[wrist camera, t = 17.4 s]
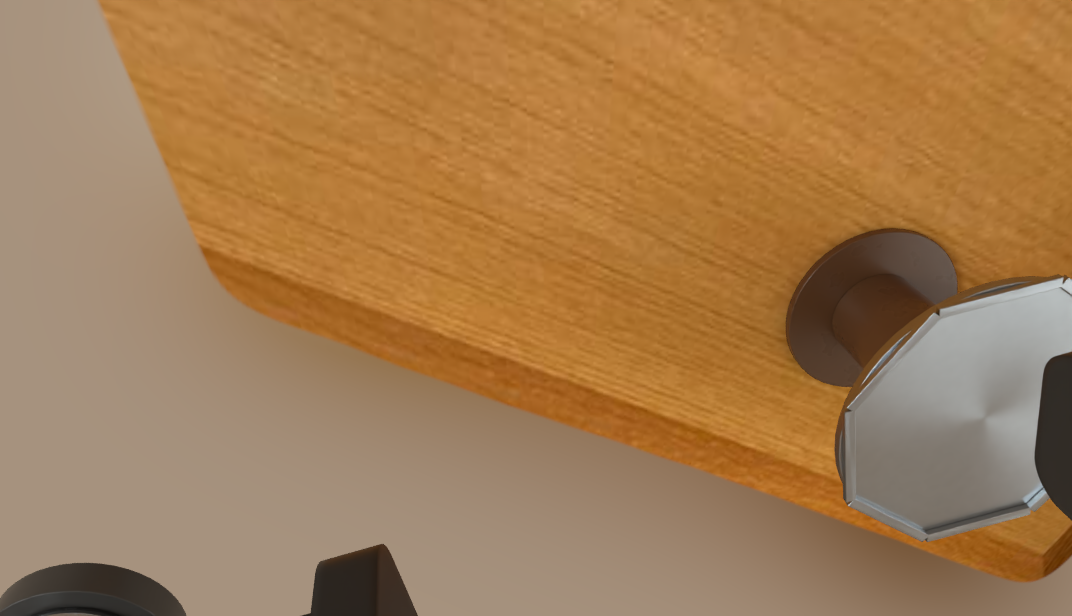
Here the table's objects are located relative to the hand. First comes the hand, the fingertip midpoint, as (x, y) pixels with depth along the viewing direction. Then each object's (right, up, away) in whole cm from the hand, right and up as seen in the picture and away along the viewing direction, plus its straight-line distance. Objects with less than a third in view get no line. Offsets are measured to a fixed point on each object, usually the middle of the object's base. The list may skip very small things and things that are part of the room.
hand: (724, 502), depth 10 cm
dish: (+17, +2, +37) cm, 40 cm away
